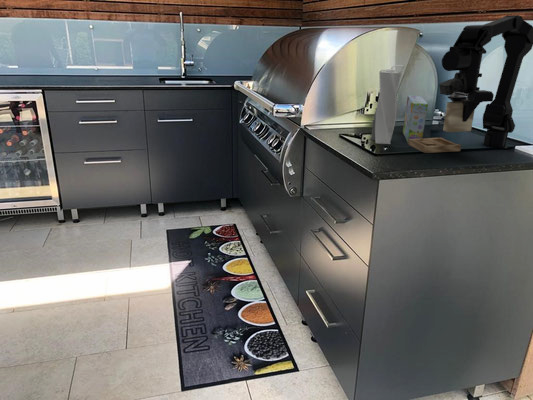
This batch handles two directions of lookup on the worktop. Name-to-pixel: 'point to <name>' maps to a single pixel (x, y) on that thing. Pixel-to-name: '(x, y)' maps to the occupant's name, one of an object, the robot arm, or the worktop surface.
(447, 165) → the worktop surface
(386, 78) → the skyscraper
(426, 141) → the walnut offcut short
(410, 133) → the snack box
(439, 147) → the oak rack
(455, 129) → the birch panel
